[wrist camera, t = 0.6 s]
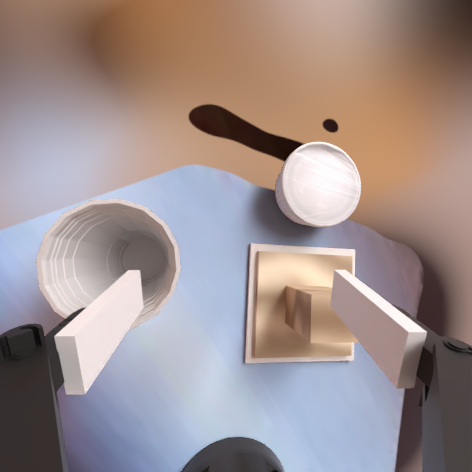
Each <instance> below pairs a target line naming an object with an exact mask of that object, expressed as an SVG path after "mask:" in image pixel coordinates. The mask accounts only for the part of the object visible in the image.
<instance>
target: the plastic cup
mask: <svg viewBox="0 0 472 472" xmlns="http://www.w3.org/2000/svg"><path fill="white" fill-rule="evenodd" d="M36 264H37V272H38V280H39V288H40V289H41V291H42V293H43V294H44V296H45V297H46V299H47V301H48V302H49V304H50V305H51V307H52V309H53V310H54V311H55V312H56V313H57V314H59V315H60V316H62V317H63V318H65V319H66V318H67V317H68V316H69V315H70V314H72V313H73V312H75V311H77V310H79V309H81V308H87V307H88V306H89V305H90V304H91V303H92V302H93V301H94V300H95V299H97V298H98V297H99V296H100V295H101V294H102V293H103V292H104V291H106V290H107V289H108V288H109V287H110V286H111V285H112V284H113V283H115V282H116V281H117V280H118V279H119V278H120V277H121V276H122V275H124V274H125V273H126V272H127V271H128V270H140V275H141V286H142V296H143V309H142V310H141V312H140V313H139V315H138V316H137V318H136V319H135V321H134V322H133V324H132V325H131V327H130V328H129V329H133V328H135V327H137V326H138V325H140V324H142V323H144V322H146V321H147V320H149V319H151V318H153V317H154V316H156V315H157V314H158V313H159V312H160V311H161V309H162V308H163V307H164V306H165V304H166V303H167V302H168V301H169V300H170V298H171V297H172V296H173V294H174V291H175V288H176V285H177V281H178V278H179V275H180V271H181V267H180V258H179V248H178V244H177V242H176V241H175V239H174V237H173V235H172V233H171V232H170V230H169V228H168V226H167V224H166V223H165V222H164V221H163V220H161V219H160V218H159V217H157V216H156V215H155V214H154V213H152V212H151V211H150V210H149V209H147V208H146V207H145V206H142V205H138V204H135V203H132V202H128V201H125V200H122V199H119V198H118V199H104V200H90V201H88V202H86V203H84V204H82V205H79V206H77V207H75V208H73V209H71V210H69V211H67V212H65V213H63V214H62V216H61V217H60V218H59V219H58V220H57V221H56V222H55V223H54V224H53V225H52V227H51V228H50V229H49V230H48V231H47V232H46V233H45V235H44V238H43V241H42V244H41V247H40V250H39V253H38V256H37V259H36Z"/></svg>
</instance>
